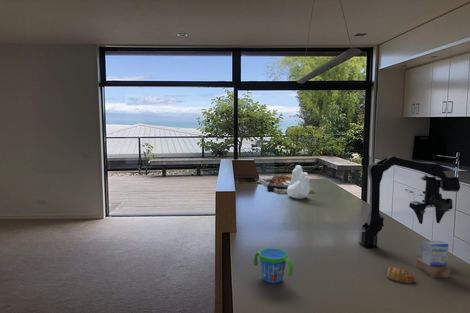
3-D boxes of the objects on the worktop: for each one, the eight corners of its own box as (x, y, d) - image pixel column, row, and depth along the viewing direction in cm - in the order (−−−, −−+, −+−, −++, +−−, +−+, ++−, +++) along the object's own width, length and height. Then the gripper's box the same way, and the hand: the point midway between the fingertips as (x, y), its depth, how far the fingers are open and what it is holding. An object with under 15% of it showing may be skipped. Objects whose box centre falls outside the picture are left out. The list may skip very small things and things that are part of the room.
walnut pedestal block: (433, 278, 132) (434, 268, 132) (416, 267, 142) (417, 258, 142) (449, 278, 133) (450, 268, 133) (431, 267, 143) (432, 257, 143)
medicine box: (429, 266, 134) (431, 244, 133) (421, 261, 138) (423, 240, 138) (447, 265, 135) (449, 244, 135) (438, 260, 140) (440, 240, 139)
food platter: (297, 193, 281) (298, 180, 280) (267, 190, 286) (268, 178, 285) (299, 182, 324) (300, 171, 323) (273, 180, 330) (274, 169, 328)
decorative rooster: (285, 194, 274) (286, 163, 271) (304, 195, 274) (306, 164, 272) (291, 202, 249) (293, 168, 246) (313, 202, 249) (314, 168, 247)
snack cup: (247, 277, 129) (247, 251, 128) (264, 268, 137) (265, 244, 136) (281, 292, 119) (282, 263, 118) (298, 282, 126) (299, 255, 125)
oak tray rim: (276, 193, 277) (277, 190, 276) (258, 182, 327) (259, 178, 327) (314, 192, 283) (314, 189, 283) (290, 181, 334) (290, 178, 334)
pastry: (414, 278, 132) (415, 269, 131) (413, 286, 126) (414, 276, 125) (388, 272, 136) (388, 263, 136) (385, 279, 131) (386, 270, 130)
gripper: (428, 194, 148) (425, 230, 149) (464, 193, 152) (461, 228, 153) (409, 189, 159) (407, 222, 160) (444, 188, 162) (441, 220, 164)
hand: (429, 223), depth 159 cm, fingers open, 9 cm apart
